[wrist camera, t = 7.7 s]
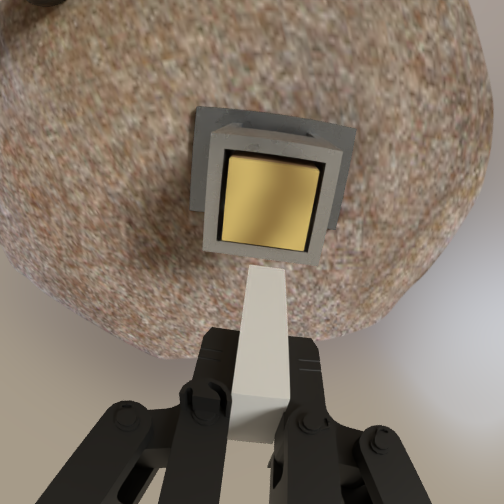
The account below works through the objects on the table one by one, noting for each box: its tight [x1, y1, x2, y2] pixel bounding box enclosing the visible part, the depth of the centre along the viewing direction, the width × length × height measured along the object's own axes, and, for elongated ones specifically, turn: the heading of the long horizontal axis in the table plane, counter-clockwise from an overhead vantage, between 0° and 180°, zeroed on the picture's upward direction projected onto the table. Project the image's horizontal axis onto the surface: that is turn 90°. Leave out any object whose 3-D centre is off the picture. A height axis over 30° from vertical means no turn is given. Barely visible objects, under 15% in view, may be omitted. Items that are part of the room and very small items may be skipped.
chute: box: [189, 106, 356, 266], centre depth 32 cm, size 20×14×15 cm
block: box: [222, 150, 319, 251], centre depth 31 cm, size 7×7×14 cm
